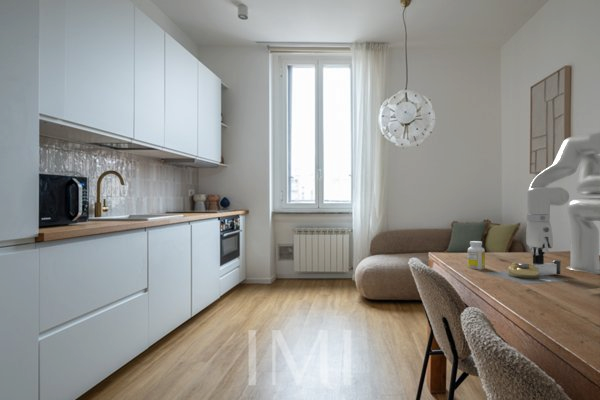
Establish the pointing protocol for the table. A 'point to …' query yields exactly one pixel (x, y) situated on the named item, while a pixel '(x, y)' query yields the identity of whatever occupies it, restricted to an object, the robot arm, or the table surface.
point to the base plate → (525, 281)
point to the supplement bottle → (476, 255)
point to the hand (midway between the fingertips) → (538, 264)
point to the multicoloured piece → (534, 269)
